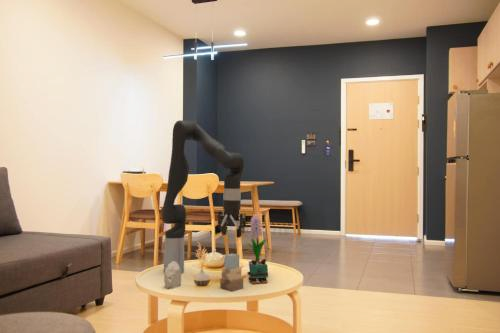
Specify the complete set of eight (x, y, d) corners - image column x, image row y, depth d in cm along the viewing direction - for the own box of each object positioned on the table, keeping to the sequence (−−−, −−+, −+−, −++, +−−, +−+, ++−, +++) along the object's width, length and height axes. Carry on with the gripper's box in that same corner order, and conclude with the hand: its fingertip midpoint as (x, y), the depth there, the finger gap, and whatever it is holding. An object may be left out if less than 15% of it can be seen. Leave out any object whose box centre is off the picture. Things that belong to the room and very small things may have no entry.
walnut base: (220, 288, 188) (220, 278, 188) (231, 285, 194) (231, 275, 194) (231, 292, 184) (231, 281, 184) (243, 288, 189) (243, 278, 189)
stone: (170, 289, 186) (170, 265, 186) (161, 288, 188) (161, 263, 188) (183, 284, 194) (183, 260, 194) (175, 283, 196) (175, 259, 196)
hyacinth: (272, 276, 209) (272, 213, 208) (257, 280, 201) (258, 215, 201) (258, 273, 215) (259, 212, 215) (243, 277, 207) (244, 213, 207)
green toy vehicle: (263, 257, 207) (269, 259, 197) (263, 280, 206) (270, 283, 196) (244, 258, 204) (250, 260, 195) (245, 281, 203) (251, 284, 194)
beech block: (221, 278, 189) (221, 267, 189) (231, 275, 193) (231, 265, 193) (231, 280, 185) (231, 270, 185) (241, 278, 189) (241, 267, 189)
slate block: (224, 267, 189) (224, 254, 189) (231, 265, 192) (231, 253, 192) (232, 269, 186) (232, 256, 186) (239, 267, 189) (239, 254, 189)
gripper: (214, 198, 192) (213, 235, 192) (238, 200, 183) (237, 239, 183) (225, 197, 198) (225, 233, 198) (250, 199, 188) (249, 237, 189)
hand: (231, 236), depth 190 cm, fingers open, 8 cm apart
